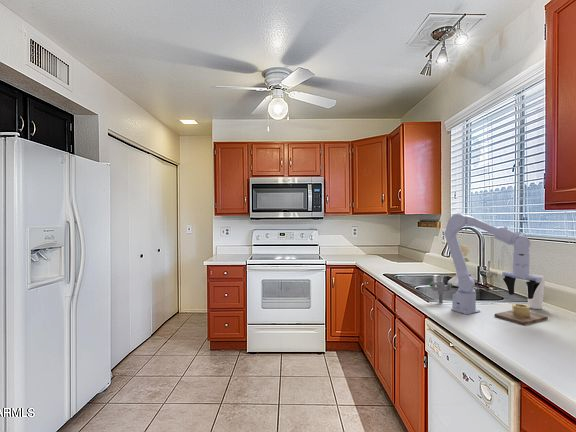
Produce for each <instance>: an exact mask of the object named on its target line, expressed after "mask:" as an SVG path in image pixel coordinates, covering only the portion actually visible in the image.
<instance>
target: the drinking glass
mask: <svg viewBox="0 0 576 432" xmlns="http://www.w3.org/2000/svg"><path fill="white" fill-rule="evenodd" d="M529 275H532V276H536V277H541V282H540V284H539V286H538V287H537V289H536V291H535V293H534V296H533V299H528V298H527V305H528V306H529V307H530V309H533V310H542V309H543V302H544V301H543V299H544V292H545V276H544V275H541V274H530V273H529ZM526 282H530V281H528V280H525V284H526ZM526 286H527V284H526ZM526 294H527V297H528V288H527V287H526Z"/></svg>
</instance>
